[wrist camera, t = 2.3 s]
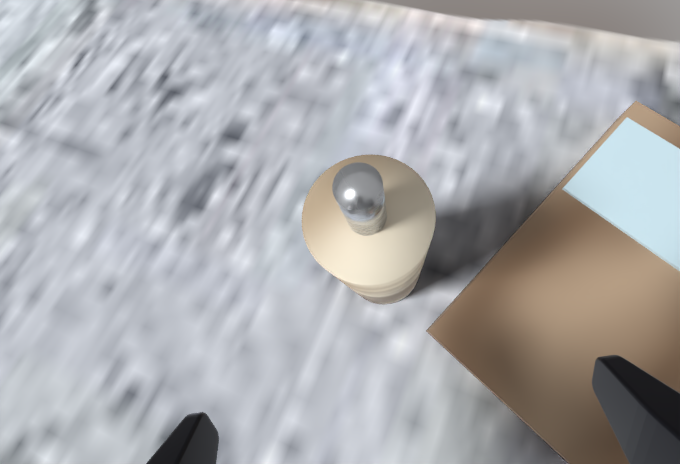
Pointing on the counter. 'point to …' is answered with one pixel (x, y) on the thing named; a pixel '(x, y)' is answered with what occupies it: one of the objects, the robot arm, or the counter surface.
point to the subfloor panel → (581, 290)
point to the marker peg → (370, 225)
